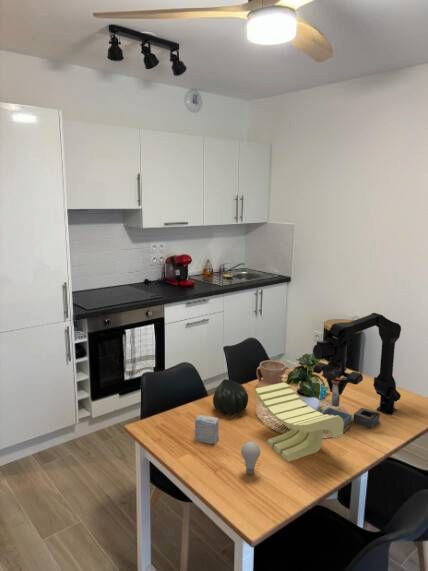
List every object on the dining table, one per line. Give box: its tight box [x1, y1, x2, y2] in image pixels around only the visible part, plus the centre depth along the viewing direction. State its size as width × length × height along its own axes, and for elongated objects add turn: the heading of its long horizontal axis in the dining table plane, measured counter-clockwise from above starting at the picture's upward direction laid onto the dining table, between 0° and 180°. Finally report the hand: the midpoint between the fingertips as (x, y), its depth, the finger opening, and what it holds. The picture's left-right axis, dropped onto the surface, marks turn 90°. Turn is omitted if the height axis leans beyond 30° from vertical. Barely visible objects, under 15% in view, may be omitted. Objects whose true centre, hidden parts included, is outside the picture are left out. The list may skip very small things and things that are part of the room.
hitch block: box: [352, 407, 381, 430], centre depth 171 cm, size 8×8×4 cm
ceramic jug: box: [256, 359, 288, 388], centre depth 197 cm, size 18×14×14 cm
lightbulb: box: [240, 441, 261, 475], centre depth 137 cm, size 6×6×11 cm
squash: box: [212, 378, 249, 417], centre depth 179 cm, size 14×15×15 cm
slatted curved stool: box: [254, 382, 344, 462], centre depth 153 cm, size 30×16×18 cm, turn 27°
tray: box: [320, 406, 353, 429], centre depth 172 cm, size 10×10×3 cm
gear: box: [319, 382, 330, 400], centre depth 196 cm, size 11×6×10 cm
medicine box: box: [194, 414, 220, 446], centre depth 157 cm, size 8×4×9 cm, turn 71°
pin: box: [330, 377, 342, 407], centre depth 169 cm, size 4×4×11 cm
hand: (335, 393), depth 169 cm, fingers closed on pin, 3 cm apart
